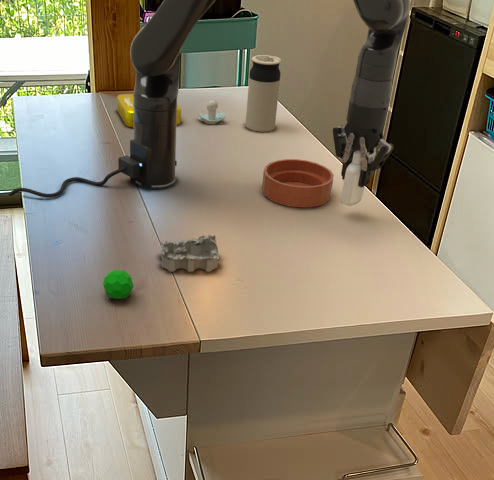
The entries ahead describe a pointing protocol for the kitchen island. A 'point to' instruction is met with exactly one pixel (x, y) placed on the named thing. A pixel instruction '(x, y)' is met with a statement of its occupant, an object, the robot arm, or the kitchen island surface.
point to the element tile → (128, 112)
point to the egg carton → (190, 254)
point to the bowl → (297, 183)
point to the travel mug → (263, 93)
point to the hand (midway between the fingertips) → (354, 182)
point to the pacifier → (212, 114)
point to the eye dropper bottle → (352, 182)
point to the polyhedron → (118, 284)
